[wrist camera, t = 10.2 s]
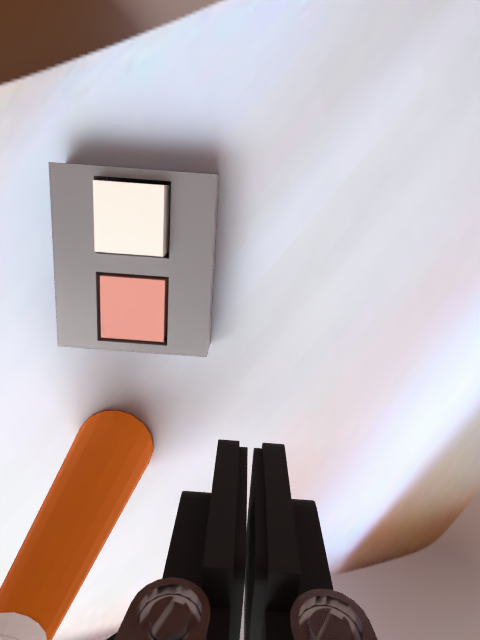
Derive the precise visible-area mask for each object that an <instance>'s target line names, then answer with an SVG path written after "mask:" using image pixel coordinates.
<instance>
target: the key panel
mask: <svg viewBox="0 0 480 640" xmlns="http://www.w3.org/2000/svg"><path fill="white" fill-rule="evenodd" d="M106 177H119V178H133V179H147V180H161V181H171V210H170V251H169V253H167V254H165V255H164V256H163V257H161V256H148V255H134V254H120V253H107V252H95V249H94V206H93V180H104V181H106ZM49 178H50V198H51V218H52V238H53V258H54V279H55V299H56V319H57V339H58V346H64V347H78V348H91V349H105V350H119V351H132V352H146V353H159V354H173V355H186V356H200V357H207V354H208V350H209V346H210V334H211V316H212V297H213V278H214V259H215V241H216V222H217V203H218V184H219V175H217V174H206V173H192V172H178V171H164V170H150V169H137V168H123V167H109V166H95V165H81V164H68V163H54V162H49ZM105 272H107V273H121V274H135V275H148V276H162V277H169V292H168V333H167V337H166V339H165V340H164V342H156V341H143V340H129V339H115V338H102V337H101V311H100V275H102V274H104V273H105Z"/></svg>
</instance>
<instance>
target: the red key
mask: <svg viewBox="0 0 480 640" xmlns="http://www.w3.org/2000/svg"><path fill="white" fill-rule="evenodd" d="M168 292H169V277H162V276H148V275H135V274H121V273H107V272H105V273H104V274H102V275H100V311H101V337H102V338H115V339H129V340H143V341H156V342H164V340H165V339H166V337H167V333H168Z"/></svg>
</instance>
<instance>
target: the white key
mask: <svg viewBox="0 0 480 640" xmlns="http://www.w3.org/2000/svg"><path fill="white" fill-rule="evenodd" d="M93 206H94V249H95V252H107V253H120V254H134V255H148V256H161V257H163V256H164V255H165V254H167V253H168V252H169V213H170V185H159V184H145V183H131V182H118V181H104V180H93Z"/></svg>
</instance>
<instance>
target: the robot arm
mask: <svg viewBox="0 0 480 640" xmlns="http://www.w3.org/2000/svg"><path fill="white" fill-rule="evenodd" d="M246 520H247V447H239V441H232V440H218V446H217V454H216V462H215V470H214V477H213V485H212V493H205V492H192V491H183V492H182V494H181V498H180V503H179V507H178V511H177V516H176V520H175V525H174V529H173V534H172V538H171V542H170V547H169V551H168V556H167V560H166V565H165V569H164V573H163V578H162V579H159V580H156V581H154V582H152V583H150V584H148V585H146V586H145V587H144V588H143V589H142V590H140V591H139V592H138V593H137V595H136V596H135V598H134V599H133V601H132V602H131V604H130V606H129V608H128V610H127V613H126V615H125V617H124V619H123V621H122V623H121V625H120V628H119V630H118V632H117V633H115V634H114V635H112V636H111V637H110V638H108V639H107V640H239V638H240V628H241V616H242V606H243V595H244V584H245V602H244V640H378V639H377V637H376V634H375V632H374V630H373V628H372V625H371V623H370V621H369V619H368V617H367V616H366V614H365V612H364V611H363V609H362V608H361V607H360V606H359V605H358V604H357V603H356V602H355V601H354V600H352V599H351V598H349V597H347V596H346V595H344V594H342V593H340V592H337V591H334V590H333V586H332V581H331V576H330V571H329V566H328V562H327V557H326V552H325V547H324V542H323V537H322V532H321V527H320V522H319V517H318V512H317V507H316V504H315V502H314V501H312V500H299V499H291V492H290V485H289V477H288V469H287V461H286V453H285V446H284V444H272V443H263V444H262V449H261V448H254V453H253V464H252V475H251V486H250V497H249V508H248V520H247V531H246Z"/></svg>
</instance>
